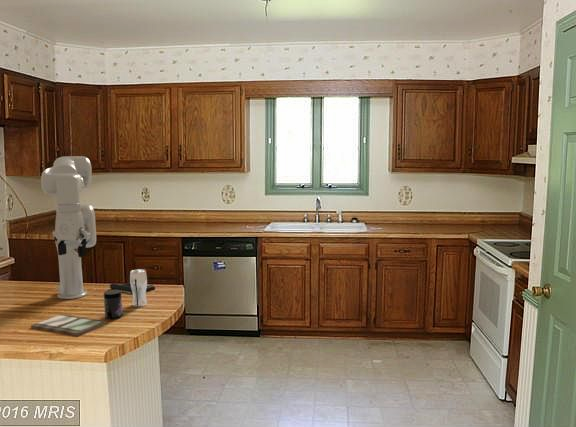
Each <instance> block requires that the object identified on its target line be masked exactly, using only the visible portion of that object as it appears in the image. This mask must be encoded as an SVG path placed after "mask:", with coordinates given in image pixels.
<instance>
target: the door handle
mask: <svg viewBox="0 0 576 427" xmlns="http://www.w3.org/2000/svg"><path fill="white" fill-rule="evenodd" d="M109 288H110V290H121V293H122V292H123V293H126V294H127V293H128V294H133V293H132V289H131V284H130V282H125V283H121V284H120V283H114V282H113V283H110V284H109ZM155 288H156V286H155V285H153V284H149V285H147V288H146V293H147V292H150V291H153V290H156V289H155Z"/></svg>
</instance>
